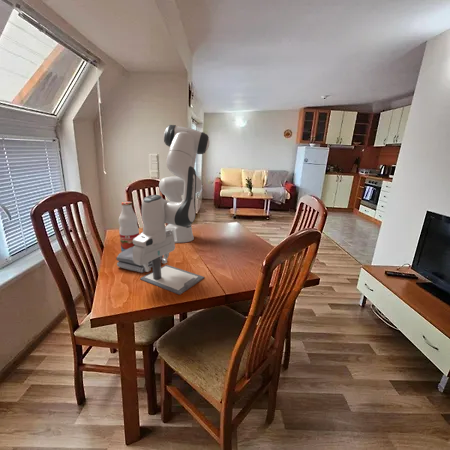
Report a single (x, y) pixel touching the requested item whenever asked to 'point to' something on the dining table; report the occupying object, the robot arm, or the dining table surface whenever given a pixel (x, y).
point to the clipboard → (173, 279)
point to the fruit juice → (127, 226)
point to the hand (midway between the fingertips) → (156, 266)
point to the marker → (156, 268)
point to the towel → (130, 261)
